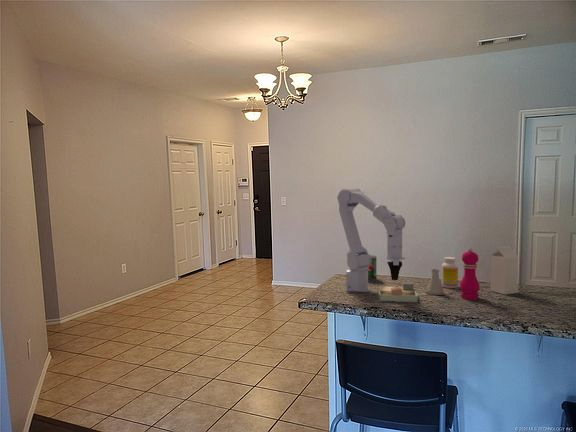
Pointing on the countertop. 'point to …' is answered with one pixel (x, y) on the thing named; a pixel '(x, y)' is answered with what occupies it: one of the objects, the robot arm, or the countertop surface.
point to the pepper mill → (469, 276)
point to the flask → (435, 284)
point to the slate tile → (407, 285)
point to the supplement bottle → (449, 273)
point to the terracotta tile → (396, 291)
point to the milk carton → (504, 271)
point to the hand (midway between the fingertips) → (394, 279)
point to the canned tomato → (372, 269)
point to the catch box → (399, 298)
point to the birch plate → (387, 290)
